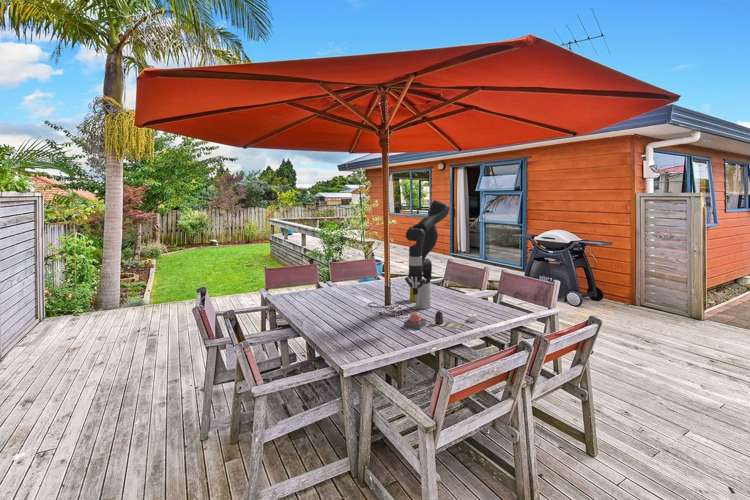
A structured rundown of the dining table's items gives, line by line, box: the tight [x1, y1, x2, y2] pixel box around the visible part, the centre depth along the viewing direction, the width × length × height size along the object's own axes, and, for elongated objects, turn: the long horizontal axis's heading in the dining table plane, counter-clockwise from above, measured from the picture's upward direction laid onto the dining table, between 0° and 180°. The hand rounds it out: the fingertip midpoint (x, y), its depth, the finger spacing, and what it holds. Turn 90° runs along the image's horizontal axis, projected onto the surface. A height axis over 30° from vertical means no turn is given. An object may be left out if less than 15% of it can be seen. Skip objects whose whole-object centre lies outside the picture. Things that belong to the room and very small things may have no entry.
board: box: [428, 319, 465, 330], centre depth 212 cm, size 18×10×1 cm, turn 60°
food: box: [409, 286, 416, 303], centre depth 269 cm, size 15×12×10 cm
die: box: [468, 313, 478, 323], centre depth 218 cm, size 4×4×4 cm
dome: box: [409, 312, 422, 323], centre depth 210 cm, size 6×6×6 cm
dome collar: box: [403, 317, 427, 330], centre depth 211 cm, size 10×10×4 cm
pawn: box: [434, 310, 444, 325], centre depth 214 cm, size 4×4×7 cm
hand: (415, 294), depth 209 cm, fingers closed
